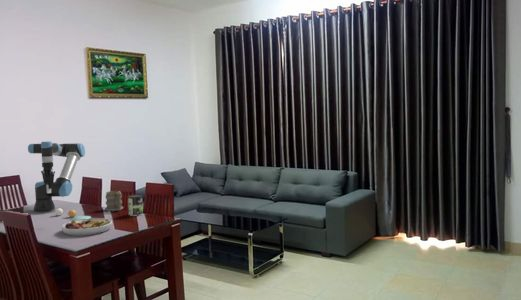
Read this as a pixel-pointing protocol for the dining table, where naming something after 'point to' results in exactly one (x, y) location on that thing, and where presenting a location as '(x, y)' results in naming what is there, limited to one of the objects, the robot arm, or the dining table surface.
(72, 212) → the object ball
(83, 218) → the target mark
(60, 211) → the cue ball
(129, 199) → the coffee can
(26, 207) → the dining table surface
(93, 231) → the bowl
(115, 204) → the tankard
